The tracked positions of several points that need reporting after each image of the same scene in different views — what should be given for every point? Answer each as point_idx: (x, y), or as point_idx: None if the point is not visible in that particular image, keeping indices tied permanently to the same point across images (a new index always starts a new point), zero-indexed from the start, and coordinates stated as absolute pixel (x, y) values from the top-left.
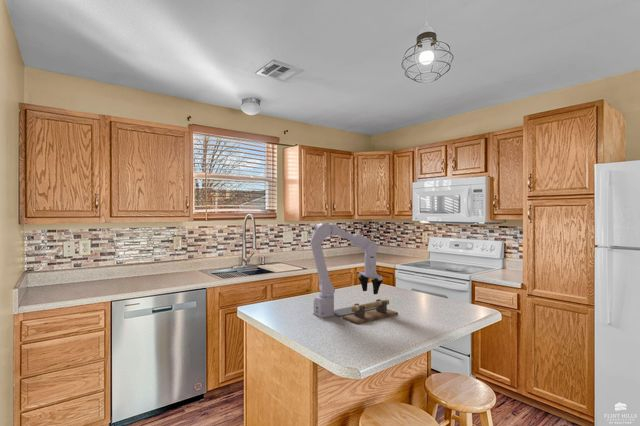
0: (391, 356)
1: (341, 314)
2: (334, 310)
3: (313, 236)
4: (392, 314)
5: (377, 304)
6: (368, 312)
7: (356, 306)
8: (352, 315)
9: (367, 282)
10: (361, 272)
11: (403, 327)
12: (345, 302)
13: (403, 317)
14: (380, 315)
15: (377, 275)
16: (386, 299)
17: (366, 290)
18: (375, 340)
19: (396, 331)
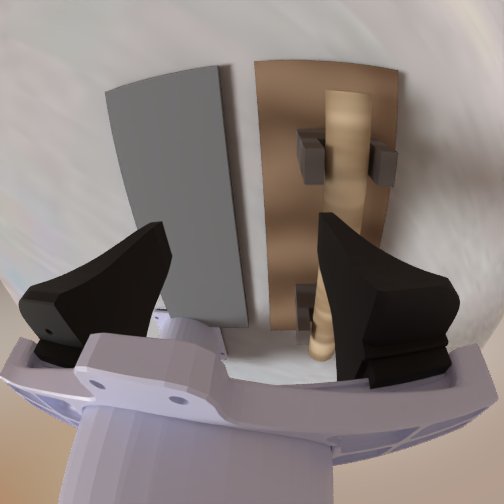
0: (489, 338)
1: (236, 315)
2: (171, 306)
3: None
4: (394, 117)
5: (361, 222)
6: (292, 215)
7: (331, 350)
8: (285, 301)
9: (113, 266)
10: (34, 398)
11: (487, 209)
12: (47, 183)
13: (434, 88)
14: (375, 200)
15: (413, 439)
16: (350, 100)
17: (161, 227)
18: (452, 331)
19: (480, 256)
